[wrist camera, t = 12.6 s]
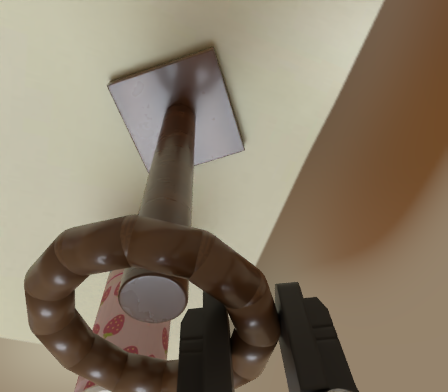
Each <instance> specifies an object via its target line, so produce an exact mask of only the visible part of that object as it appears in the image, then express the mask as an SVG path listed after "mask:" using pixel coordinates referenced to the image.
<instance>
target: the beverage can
mask: <svg viewBox="0 0 448 392" xmlns="http://www.w3.org/2000/svg"><path fill="white" fill-rule="evenodd" d="M123 272H124V269H119V270H113V271H110V273H109V277H108V280H107V283H106V287H105V290H104V293H103V297H102V300H101V303H100V307H99V310H98V313H97V317H96V320H95V323H94V327H93V330H92V331H93V332H94V333H95V334H97V335H99V336H101V337H102V338H104V339H106V340H108V341H109V342H111V343H113V344H115V345H116V346H118V347H120V348H122V349H123V350H125V351H127V352H130V353H135V354H139V355H144V356H149V357H154V358H158V359H163V360H167V352H168V341H169V331H170V321H167V322H162V323H146V322H141V321H138V320H136V319H134V318H132V317H130V316H129V315H127V314H126V313H125V312H124V311H123V310H122V308H121V307H120V304H119V301H118V291H119V287H120V283H121V279H122V276H123ZM74 392H111V391H108V390H106V389H104V388H103V387H101V386H99V385H97V384H95V383H93V382H91V381H89V380H87V379H85V378H83V377H81V376H79V377H78V380H77V384H76V387H75V390H74Z"/></svg>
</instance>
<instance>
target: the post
mask: <svg viewBox="0 0 448 392" xmlns="http://www.w3.org/2000/svg"><path fill="white" fill-rule="evenodd" d="M107 87H108V89H109V91H110V93H111V95H112V97H113V99H114V102H115V104H116V106H117V108H118V110H119V112H120V114H121V116H122V118H123V120H124V123H125V125H126V127H127V129H128V131H129V133H130V135H131V137H132V139H133V141H134V144H135V146H136V148H137V150H138V152H139V154H140V156H141V158H142V160H143V163H144V165H145V167H146V169H147V171H148V173H149V175H148V179H147V183H146V187H145V191H144V195H143V198H142V202H141V206H140V210H139V214H138V215H141V216H145V217H149V218H154V219H158V220H162V221H167V222H171V223H176V224H180V225H184V226H189V227H191V219H192V196H193V173H194V166H195V165H199V164H202V163H205V162H208V161H212V160H215V159H218V158H222V157H225V156H228V155H231V154H235V153H238V152H241V151H244V150H245V148H244V144H243V141H242V138H241V134H240V131H239V128H238V125H237V121H236V118H235V115H234V112H233V109H232V105H231V102H230V99H229V96H228V92H227V89H226V86H225V83H224V79H223V76H222V73H221V70H220V66H219V63H218V60H217V57H216V54H215V50H214V47H211V48H208V49H205V50H202V51H199V52H196V53H193V54H190V55H187V56H184V57H182V58H179V59H176V60H173V61H170V62H167V63H164V64H161V65H158V66H155V67H152V68H149V69H146V70H144V71H141V72H138V73H135V74H132V75H129V76H126V77H123V78H120V79H117V80H114V81H111V82H110V83H109V84H108V85H107ZM188 289H189V280H187V279H184V278H179V277H175V276H170V275H166V274H161V273H157V272H152V271H148V270H143V269H139V268H134V267H130V268H125V269H124V272H123V276H122V279H121V283H120V287H119V291H118V301H119V304H120V307H121V308H122V310H123V311H124V312H125V313H126V314H127V315H129V316H130V317H132V318H134V319H136V320H138V321H141V322H146V323H162V322H167V321H170V320H172V319H174V318H176V317H178V316H179V315H180V314H181V313H182V312H183V311H184V309H185V308H186V306H187V303H188Z"/></svg>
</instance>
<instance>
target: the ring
mask: <svg viewBox="0 0 448 392" xmlns="http://www.w3.org/2000/svg"><path fill="white" fill-rule="evenodd" d="M130 267H134V268H139V269H143V270H148V271H152V272H157V273H161V274H166V275H170V276H175V277H179V278H184V279H187V280H189V281H190V282H192V283H193V284H195V285H196V286H197V287H199V288H200V289H202V290H203V291H205V292H206V293H208V294H209V295H211V296H212V297H213V298H215V299H216V300H218V301H219V302H221V303H222V304H224V305H225V307H226V309H227V311H228V314H229V316H230V318H231V320H232V322H233V325H234V327H235V328H234V331H233V333H232V336H231V339H230V340H231V352H232V365H233V378H234V389H236V388H238V387H240V386H242V385H244V384H246V383H248V382H250V381H252V380H254V379H256V378H257V377H258V376H259V375H260V374H261V373H262V372H263V370H264V368H265V366H266V364H267V362H268V360H269V358H270V356H271V354H272V352H273V350H274V348H275V346H276V344H277V342H278V340H279V338H280V335H281V326H280V318H279V315H278V312H277V309H276V306H275V303H274V300H273V297H272V295H271V292H270V289H269V286H268V283H267V280H266V278H265V276H264V275H263V273H262V272H261V271H260V270H259V269H258V268H256V267H255V266H254V265H253V264H251V263H250V262H249V261H247V260H246V259H245V258H243V257H242V256H241V255H239V254H238V253H237V252H235V251H234V250H233V249H231V248H230V247H229V246H228V245H226V244H225V243H224V242H222V241H221V240H220V239H218V238H217V237H216V236H214V235H213V234H211V233H210V232H208V231H205V230H202V229H197V228H193V227H189V226H184V225H180V224H176V223H171V222H167V221H162V220H158V219H154V218H149V217H145V216H141V215H128V216H124V217H119V218H114V219H110V220H105V221H100V222H96V223H91V224H86V225H82V226H77V227H73V228H70V229H67V230H65V231H64V232H62V233H61V234H60V235H59V236H58V237H57V238H56V239H55V240H54V241H53V243H52V244H51V245H50V246H49V247H48V248H47V249H46V250H45V252H44V253H43V254H42V255H41V256H40V257H39V258H38V259H37V261H36V262H35V263H34V264H33V265H32V266H31V267H30V269H29V270H28V272H27V273H26V276H25V279H24V289H25V297H26V305H27V313H28V322H29V326H30V329H31V331H32V332H33V333H34V334H35V336H36V337H37V338H38V339H39V340H40V341H41V342H42V343H43V345H44V346H45V347H46V348H47V349H48V350H49V351H50V352H51V354H52V355H53V356H54V357H55V358H56V359H57V360H58V361H59V362H60V364H61V365H62V366H64V367H65V368H66V369H68V370H70V371H72V372H74V373H76V374H78V375H79V376H81V377H83V378H85V379H87V380H89V381H91V382H93V383H95V384H97V385H99V386H101V387H103V388H104V389H106V390H108V391H111V392H177V378H178V362H179V360H170V361H168V360H163V359H158V358H154V357H149V356H144V355H139V354H135V353H130V352H127V351H125V350H123V349H122V348H120V347H118V346H116V345H115V344H113V343H111V342H109V341H108V340H106V339H104V338H102V337H101V336H99V335H97V334H95V333H94V332H93V331H92V330H91V328H90V327H89V326H88V325H87V323H86V322H85V321H84V319H83V318H82V317H81V315H80V314H79V313H78V311H77V310H76V309H75V289H76V288H77V287H78V286H79V285H80V284H81V283H82V282H83V281H84V280H85V279H86V278H87V277H88V276H89V275H91V274H96V273H102V272H108V271H113V270H119V269H125V268H130Z"/></svg>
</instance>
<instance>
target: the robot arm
mask: <svg viewBox="0 0 448 392" xmlns="http://www.w3.org/2000/svg"><path fill="white" fill-rule="evenodd" d="M275 306H276V309H277V312H278V315H279V318H280V326H281V335H280V338H279V344H280V349H281V353H282V358H283V363H284V368H285V373H286V378H287V383H288V388H289V392H359V391H358V390H357V388H356V385H355V383H354V380H353V377H352V375H351V372H350V369H349V366H348V363H347V361H346V358H345V355H344V353H343V350H342V347H341V344H340V342H339V339H338V337H337V333H336V330H335V328H334V326H333V322H332V319H331V317H330V314H329V311H328V309H327V308H326V307H325V306H324V305H323V304H322V302H321V301H320V300H319V299H318V298H317V297H313V298H303V295H302V292H301V289H300V286H299V283H298V282H292V283H282V284H275ZM230 339H231V338H230V327H229V317H228V311H227V309H226V307H225V305H224V304H222V303H221V302H219V301H218V300H216V299H215V298H213V297H212V296H211V295H209V294H208V293H206V292H205V291H203V308H195V309H188V311H187V312H186V314H185V316H184V318H183V320H182V322H181V330H180V346H179V362H178V378H177V392H234V378H233V365H232V352H231V340H230Z"/></svg>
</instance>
